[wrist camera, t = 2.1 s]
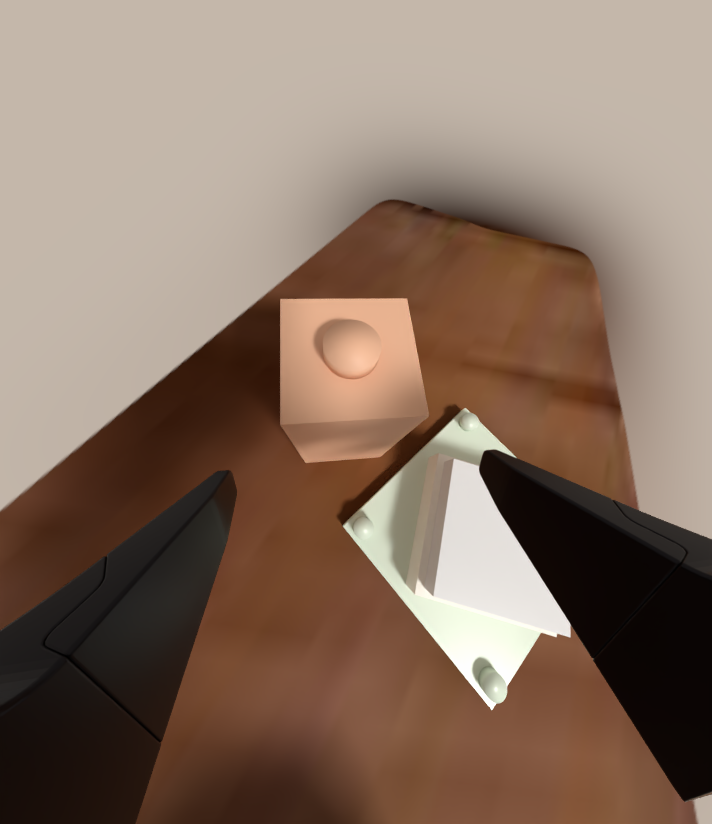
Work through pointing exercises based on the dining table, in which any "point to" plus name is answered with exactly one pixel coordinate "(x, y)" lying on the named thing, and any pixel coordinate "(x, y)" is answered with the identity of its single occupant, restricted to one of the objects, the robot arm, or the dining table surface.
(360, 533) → the baseplate
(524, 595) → the brick stack
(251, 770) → the dining table surface
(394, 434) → the tall brick
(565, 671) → the dining table surface
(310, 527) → the dining table surface
